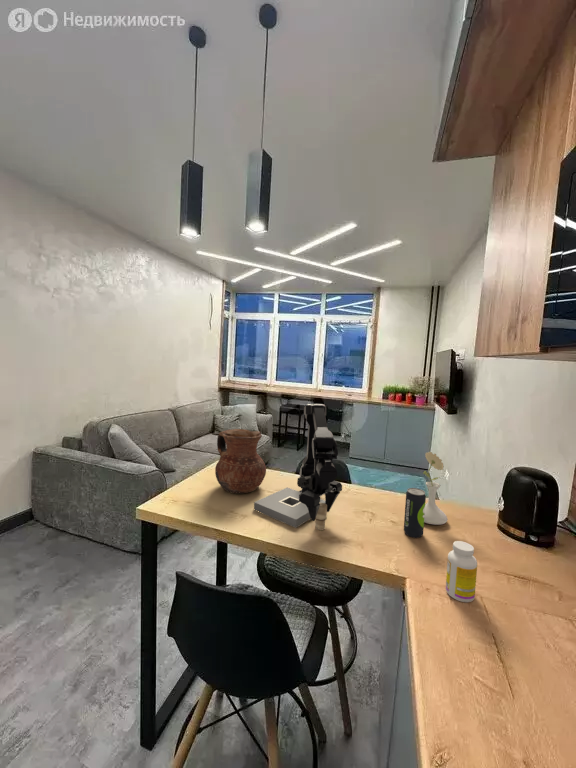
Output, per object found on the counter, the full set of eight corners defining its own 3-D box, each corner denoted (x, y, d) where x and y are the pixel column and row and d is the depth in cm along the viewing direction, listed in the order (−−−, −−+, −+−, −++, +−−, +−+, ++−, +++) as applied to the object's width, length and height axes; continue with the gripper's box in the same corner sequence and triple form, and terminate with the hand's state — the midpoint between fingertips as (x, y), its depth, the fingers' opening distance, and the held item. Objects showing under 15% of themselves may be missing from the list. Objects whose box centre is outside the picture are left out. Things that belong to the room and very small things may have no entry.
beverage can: (399, 531, 116) (402, 489, 115) (412, 527, 119) (415, 486, 118) (414, 540, 111) (417, 496, 109) (427, 536, 114) (430, 493, 112)
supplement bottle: (480, 599, 84) (485, 550, 83) (461, 606, 81) (466, 556, 80) (457, 582, 90) (461, 536, 89) (439, 588, 88) (443, 541, 86)
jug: (265, 479, 160) (267, 427, 158) (265, 498, 139) (267, 438, 137) (218, 479, 158) (219, 426, 156) (211, 497, 138) (212, 437, 135)
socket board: (286, 494, 144) (287, 487, 144) (326, 508, 132) (327, 500, 131) (253, 509, 128) (254, 501, 128) (295, 527, 116) (296, 519, 116)
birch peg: (318, 523, 120) (319, 501, 119) (328, 527, 117) (329, 505, 117) (311, 527, 117) (312, 505, 116) (321, 532, 114) (322, 509, 113)
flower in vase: (453, 528, 119) (458, 459, 117) (421, 527, 119) (426, 458, 117) (436, 511, 132) (441, 449, 130) (407, 510, 132) (412, 448, 130)
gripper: (317, 460, 128) (316, 500, 129) (286, 472, 113) (285, 517, 114) (343, 467, 121) (341, 509, 122) (314, 481, 106) (312, 529, 107)
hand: (320, 515), depth 117 cm, fingers open, 9 cm apart
